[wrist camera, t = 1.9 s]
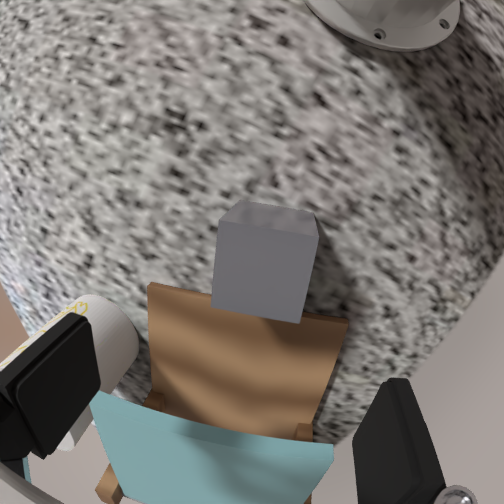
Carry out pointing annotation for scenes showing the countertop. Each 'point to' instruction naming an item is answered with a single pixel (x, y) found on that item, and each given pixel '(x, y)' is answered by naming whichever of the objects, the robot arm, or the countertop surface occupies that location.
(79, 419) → the cup
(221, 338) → the frame
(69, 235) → the countertop surface
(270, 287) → the grey block
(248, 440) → the trapdoor
